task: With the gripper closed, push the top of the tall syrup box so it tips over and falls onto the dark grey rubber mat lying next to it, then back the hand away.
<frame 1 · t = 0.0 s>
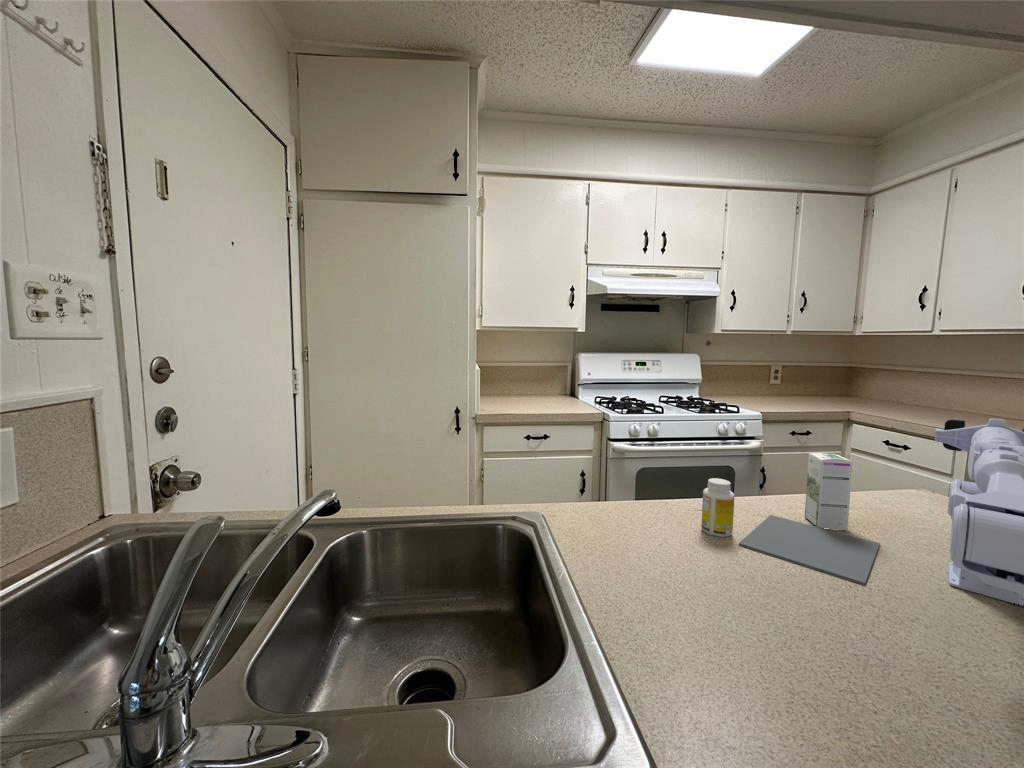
hand: (992, 431, 78), 22 cm above the countertop, tool horizontal, fingers open, 7 cm apart
supplement bottle: (716, 532, 84), on the countertop
mat: (809, 545, 79), on the countertop
syrup box: (824, 525, 89), on the countertop
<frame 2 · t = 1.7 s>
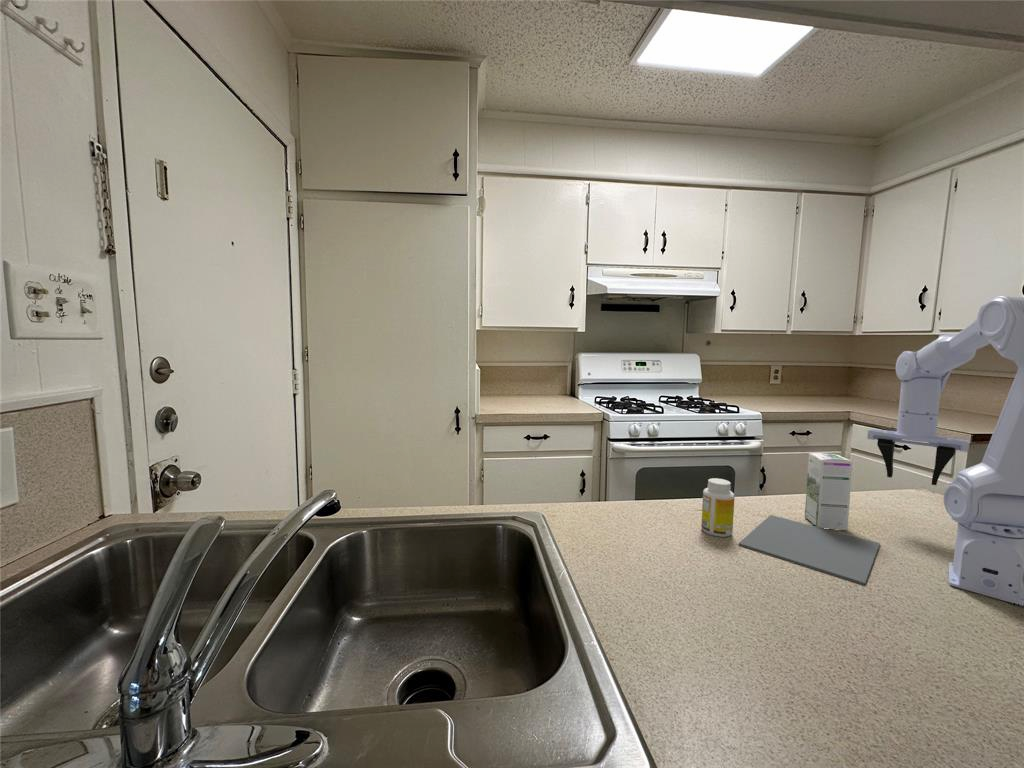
hand: (911, 480, 85), 10 cm above the countertop, tool pointing down, fingers open, 6 cm apart
nothing on the countertop moved.
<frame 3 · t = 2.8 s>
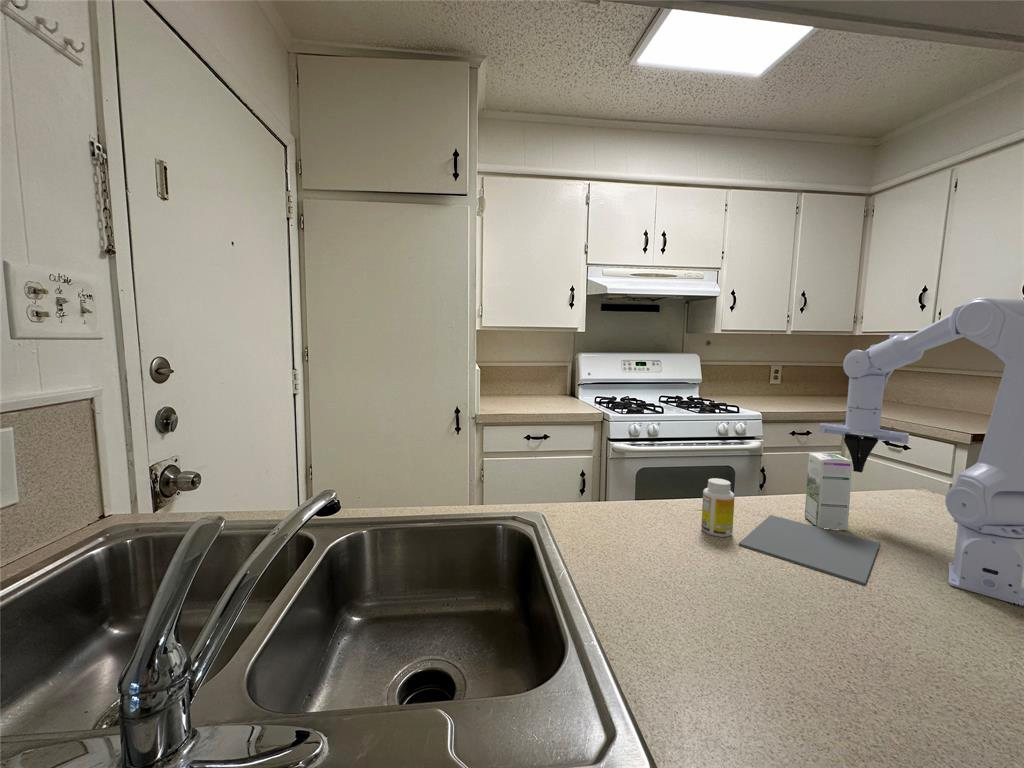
hand: (858, 471, 91), 11 cm above the countertop, tool pointing down, fingers closed
nothing on the countertop moved.
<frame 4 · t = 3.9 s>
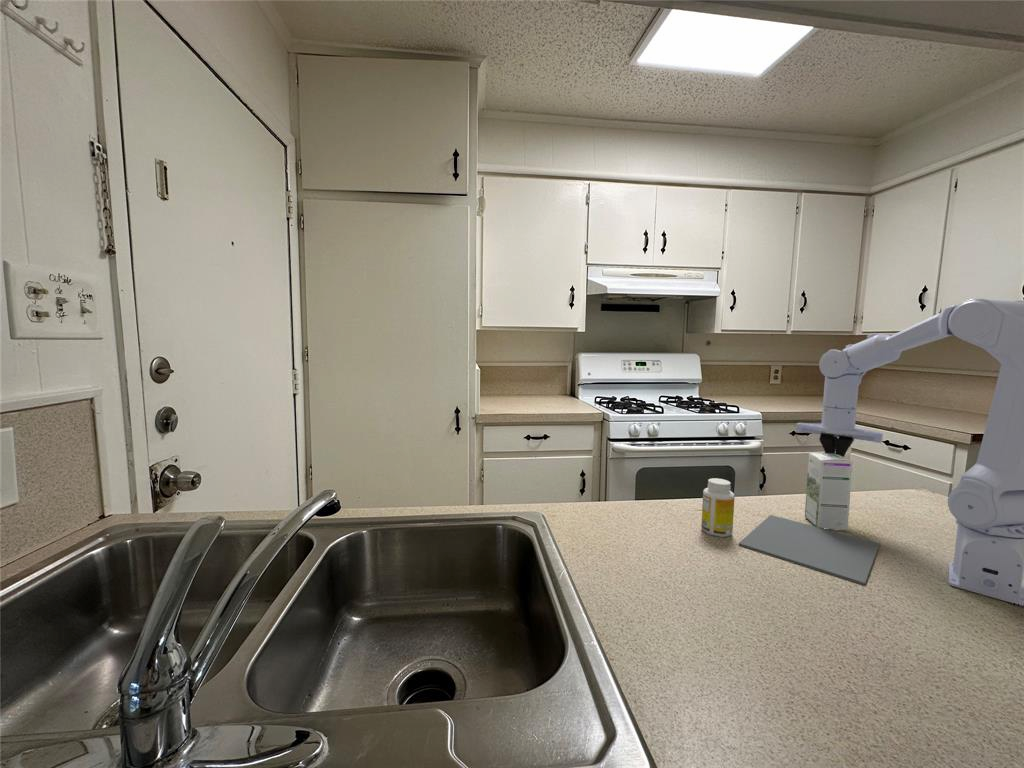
hand: (833, 470, 92), 10 cm above the countertop, tool pointing down, fingers closed
syrup box: (824, 525, 89), on the countertop, touching gripper
everything else where it was.
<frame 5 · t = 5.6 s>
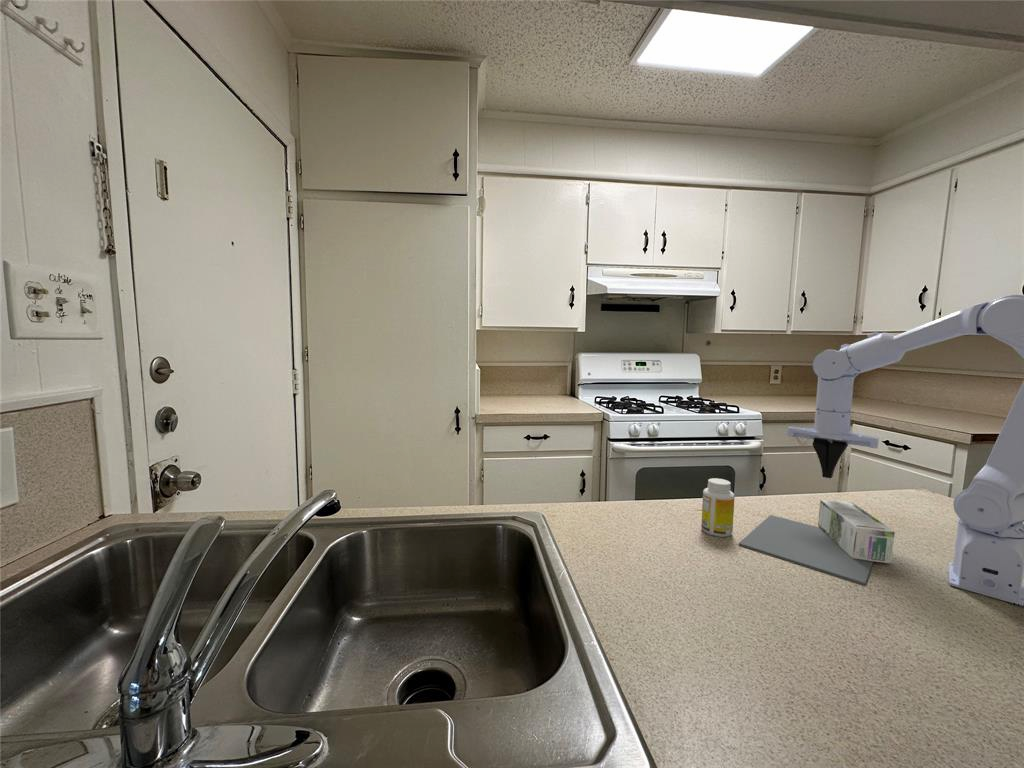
hand: (827, 476, 87), 10 cm above the countertop, tool pointing down, fingers closed
syrup box: (833, 513, 86), point 3 cm above the countertop, touching mat
everything else where it was.
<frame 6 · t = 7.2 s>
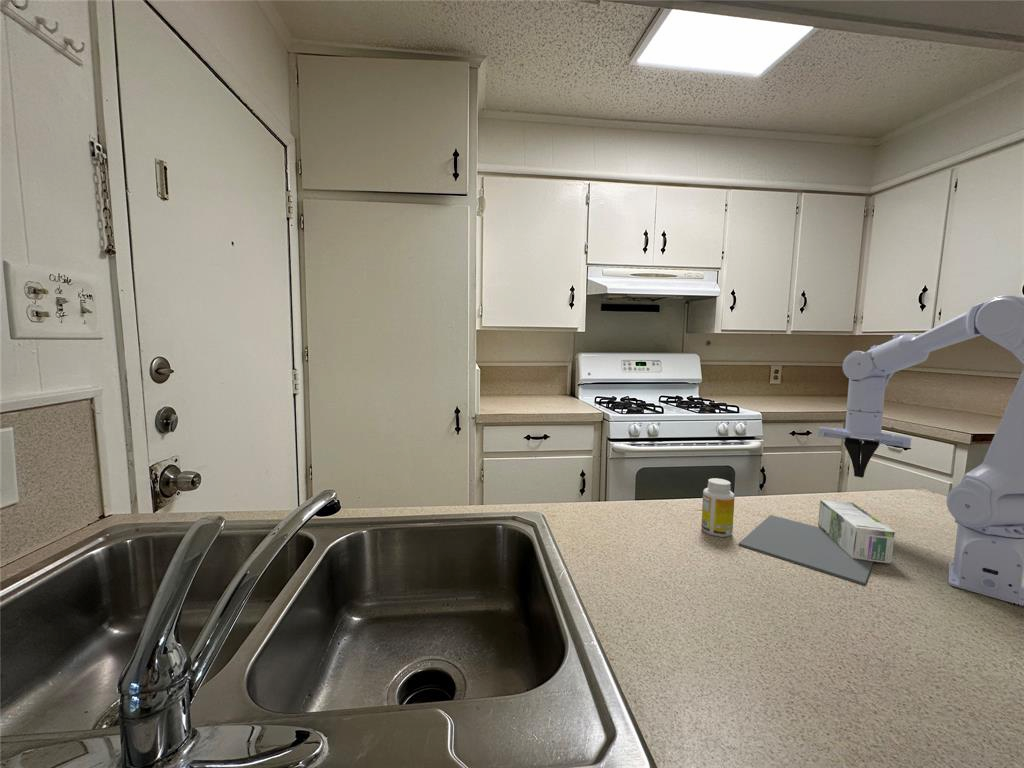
hand: (859, 476, 88), 10 cm above the countertop, tool pointing down, fingers closed
nothing on the countertop moved.
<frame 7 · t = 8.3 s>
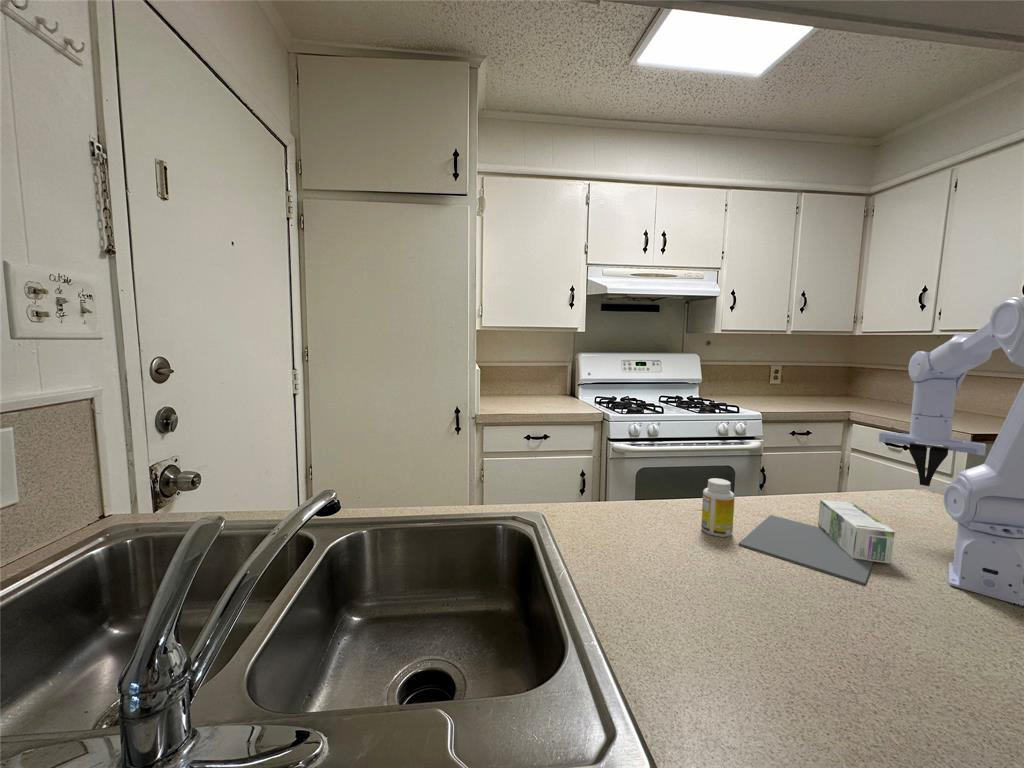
hand: (924, 484, 83), 10 cm above the countertop, tool pointing down, fingers closed
nothing on the countertop moved.
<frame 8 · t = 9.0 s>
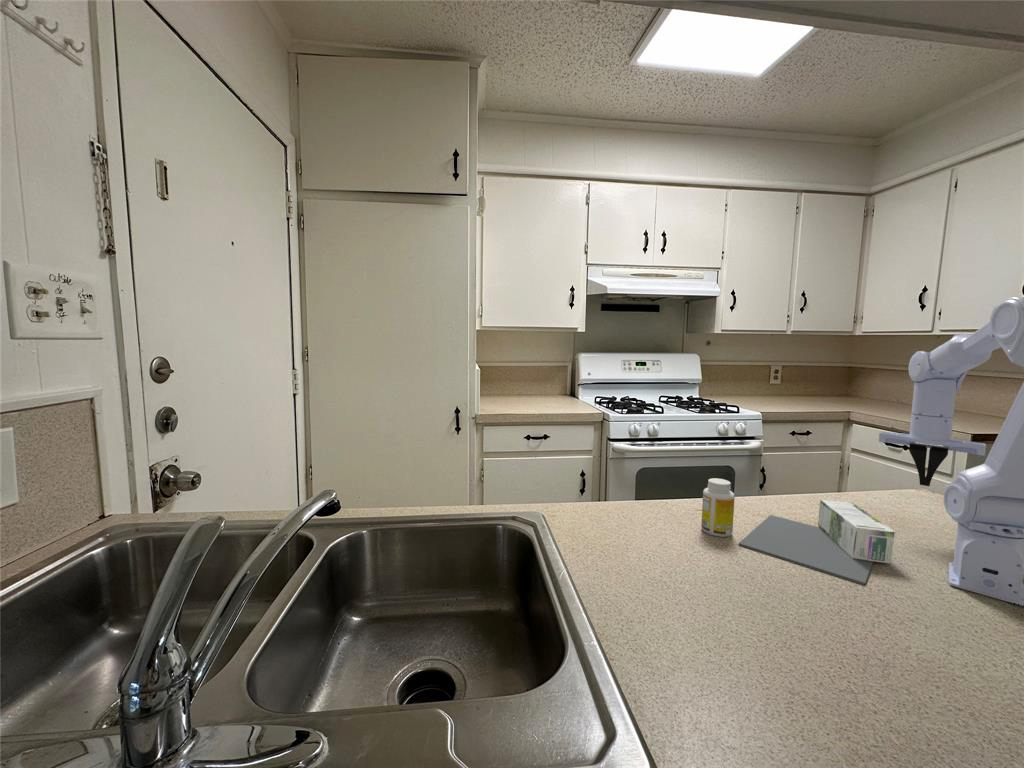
hand: (924, 484, 83), 10 cm above the countertop, tool pointing down, fingers closed
nothing on the countertop moved.
at the end: syrup box tilted 90°; syrup box inside the target area (6.8 cm from its centre), point 3.2 cm above the countertop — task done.
